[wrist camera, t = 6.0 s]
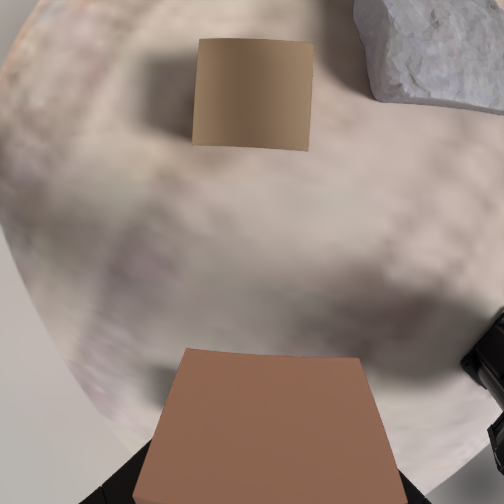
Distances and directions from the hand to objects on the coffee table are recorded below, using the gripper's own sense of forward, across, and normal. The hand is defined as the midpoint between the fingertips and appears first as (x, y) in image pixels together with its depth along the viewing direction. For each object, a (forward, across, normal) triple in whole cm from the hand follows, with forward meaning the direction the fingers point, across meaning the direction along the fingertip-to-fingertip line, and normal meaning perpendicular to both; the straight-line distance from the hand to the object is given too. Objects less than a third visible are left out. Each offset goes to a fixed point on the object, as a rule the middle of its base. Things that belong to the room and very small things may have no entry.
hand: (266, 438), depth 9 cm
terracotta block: (+1, 0, 0) cm, 1 cm away
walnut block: (+13, +1, -10) cm, 16 cm away
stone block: (+13, -10, -17) cm, 24 cm away
